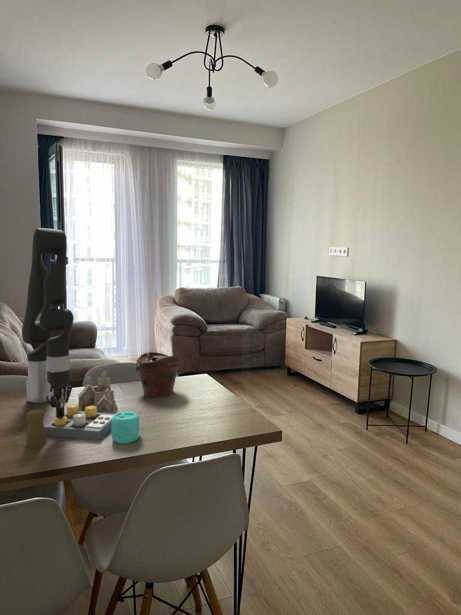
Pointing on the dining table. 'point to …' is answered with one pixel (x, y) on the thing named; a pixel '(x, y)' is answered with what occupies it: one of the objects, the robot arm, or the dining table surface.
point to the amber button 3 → (91, 411)
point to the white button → (79, 420)
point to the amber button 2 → (72, 410)
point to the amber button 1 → (60, 421)
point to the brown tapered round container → (157, 373)
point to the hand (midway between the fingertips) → (60, 417)
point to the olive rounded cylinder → (35, 429)
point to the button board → (82, 427)
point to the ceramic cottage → (98, 396)
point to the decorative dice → (125, 427)
